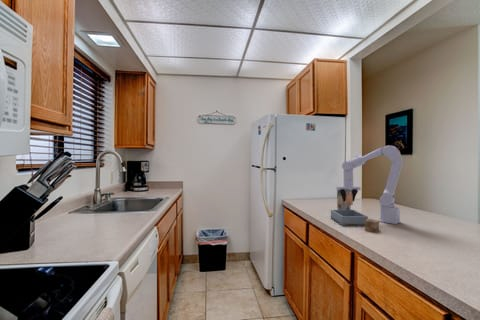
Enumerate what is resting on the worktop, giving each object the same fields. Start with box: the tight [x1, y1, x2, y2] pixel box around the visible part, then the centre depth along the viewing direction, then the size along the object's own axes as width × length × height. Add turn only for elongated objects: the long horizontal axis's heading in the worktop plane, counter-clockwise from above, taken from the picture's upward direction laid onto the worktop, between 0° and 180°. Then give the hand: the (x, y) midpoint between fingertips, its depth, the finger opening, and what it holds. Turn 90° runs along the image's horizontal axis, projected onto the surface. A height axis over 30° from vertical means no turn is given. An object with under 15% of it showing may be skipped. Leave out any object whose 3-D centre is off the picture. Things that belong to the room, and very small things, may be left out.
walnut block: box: [364, 218, 380, 233], centre depth 126 cm, size 5×5×5 cm
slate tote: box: [330, 209, 369, 227], centre depth 144 cm, size 18×14×5 cm
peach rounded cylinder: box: [344, 193, 354, 206], centre depth 158 cm, size 5×5×7 cm
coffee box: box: [336, 189, 352, 210], centre depth 172 cm, size 9×6×16 cm
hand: (348, 201), depth 158 cm, fingers closed on peach rounded cylinder, 5 cm apart
